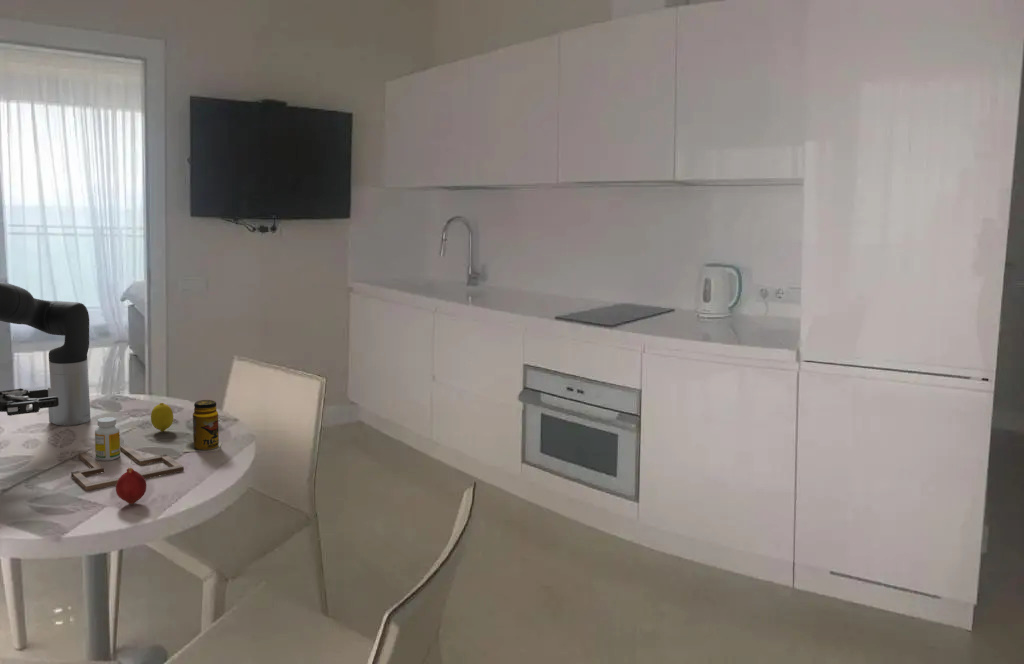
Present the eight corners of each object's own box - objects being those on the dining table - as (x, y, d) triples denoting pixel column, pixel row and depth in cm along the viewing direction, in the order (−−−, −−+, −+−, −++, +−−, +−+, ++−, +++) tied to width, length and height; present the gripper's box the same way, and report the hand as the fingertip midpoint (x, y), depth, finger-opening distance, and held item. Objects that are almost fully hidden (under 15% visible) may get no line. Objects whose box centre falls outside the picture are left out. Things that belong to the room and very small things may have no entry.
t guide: (55, 461, 192) (55, 457, 192) (147, 445, 206) (147, 441, 206) (86, 490, 175) (86, 486, 175) (183, 470, 190) (183, 466, 189)
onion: (123, 498, 172) (121, 462, 171) (151, 498, 173) (149, 462, 171) (112, 509, 166) (110, 472, 165) (141, 509, 167) (139, 472, 166)
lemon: (177, 429, 220) (176, 400, 219) (167, 435, 215) (166, 406, 213) (158, 428, 221) (157, 399, 219) (147, 433, 215) (146, 404, 214)
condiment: (218, 451, 204) (217, 405, 202) (182, 452, 202) (181, 406, 200) (222, 442, 211) (221, 397, 209) (187, 443, 209) (186, 398, 207)
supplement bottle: (95, 462, 193) (93, 423, 191) (96, 455, 198) (94, 417, 196) (120, 459, 195) (118, 421, 193) (120, 453, 200) (119, 415, 198)
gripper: (-25, 397, 169) (61, 387, 180) (-39, 384, 179) (43, 375, 190) (-23, 431, 170) (62, 420, 181) (-37, 416, 180) (45, 406, 191)
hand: (52, 397), depth 186 cm, fingers open, 8 cm apart
